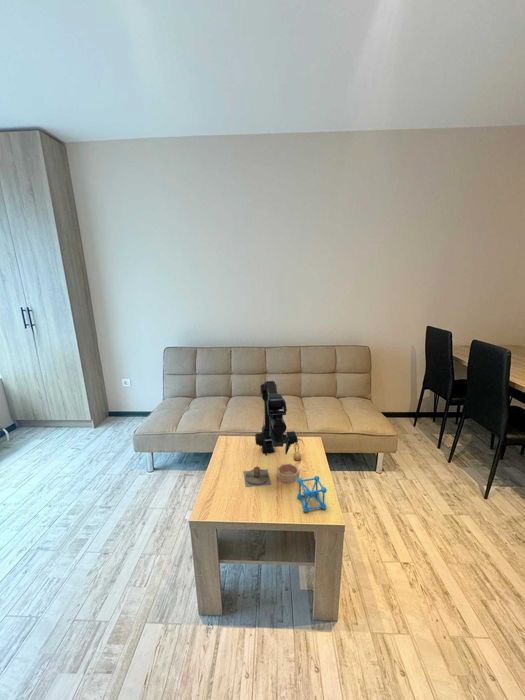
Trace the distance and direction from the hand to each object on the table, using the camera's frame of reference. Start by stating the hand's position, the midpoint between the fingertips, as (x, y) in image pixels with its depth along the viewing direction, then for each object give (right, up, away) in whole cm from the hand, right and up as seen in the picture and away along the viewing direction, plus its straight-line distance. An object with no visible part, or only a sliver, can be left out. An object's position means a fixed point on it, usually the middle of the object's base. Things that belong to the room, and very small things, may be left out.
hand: (276, 454), depth 138 cm
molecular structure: (+14, -17, -11) cm, 25 cm away
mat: (-9, -14, +6) cm, 17 cm away
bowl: (+6, -13, +7) cm, 16 cm away
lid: (-9, -13, +6) cm, 17 cm away
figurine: (+12, -10, +22) cm, 27 cm away
